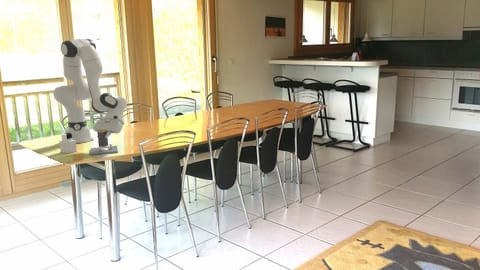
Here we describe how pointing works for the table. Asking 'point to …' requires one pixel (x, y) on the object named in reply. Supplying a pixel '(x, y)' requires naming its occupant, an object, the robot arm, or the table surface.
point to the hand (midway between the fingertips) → (101, 137)
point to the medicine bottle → (67, 143)
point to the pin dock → (103, 150)
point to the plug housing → (102, 138)
